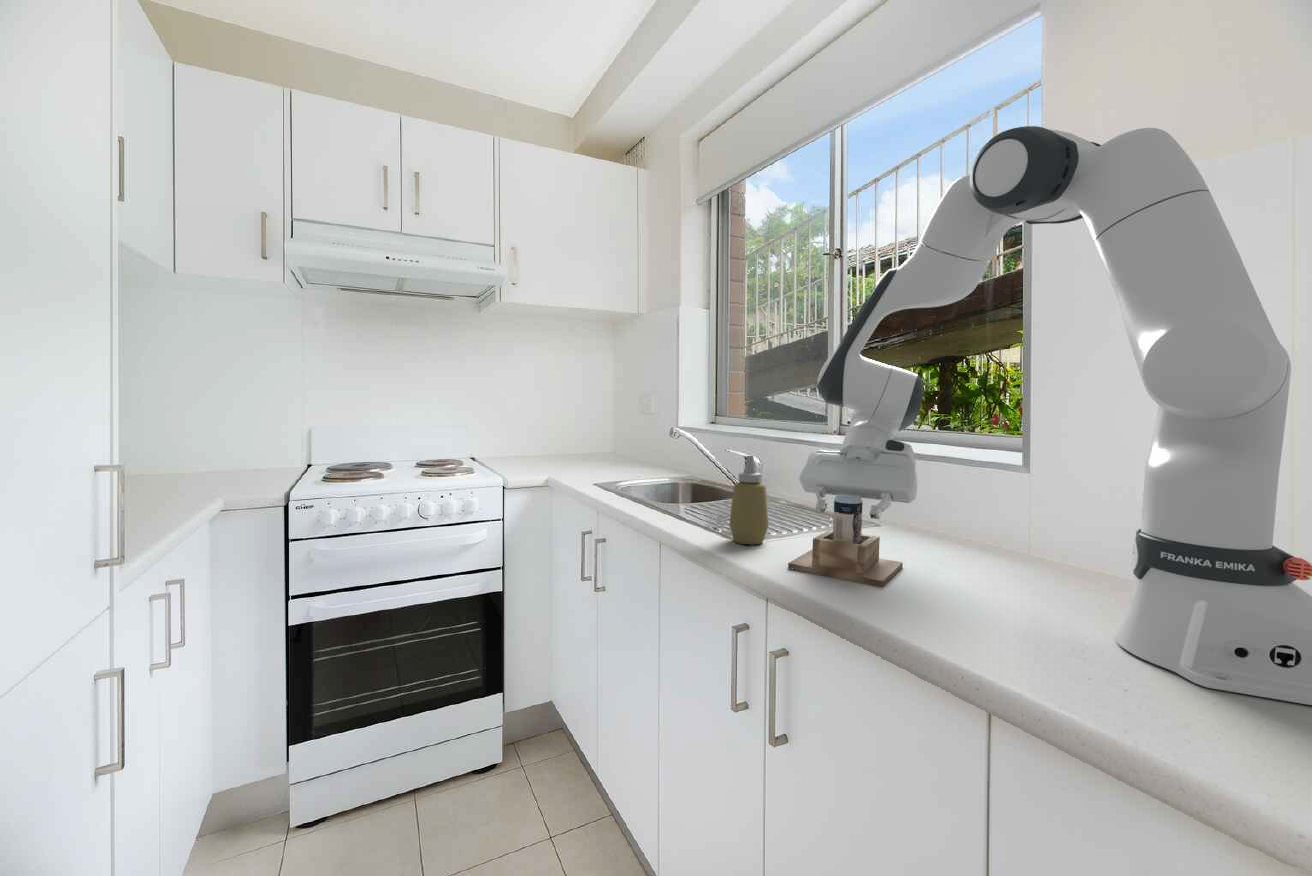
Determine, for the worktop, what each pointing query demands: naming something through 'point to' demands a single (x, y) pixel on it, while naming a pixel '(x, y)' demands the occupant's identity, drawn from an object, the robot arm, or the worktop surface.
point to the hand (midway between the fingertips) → (846, 513)
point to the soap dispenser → (749, 507)
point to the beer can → (847, 518)
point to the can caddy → (848, 560)
